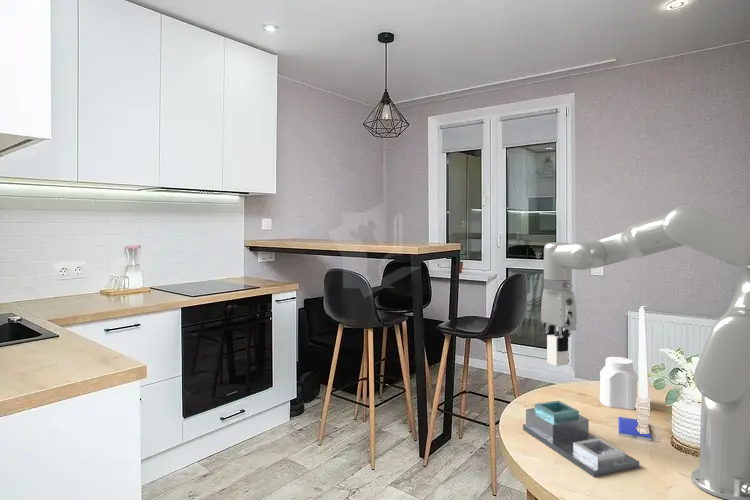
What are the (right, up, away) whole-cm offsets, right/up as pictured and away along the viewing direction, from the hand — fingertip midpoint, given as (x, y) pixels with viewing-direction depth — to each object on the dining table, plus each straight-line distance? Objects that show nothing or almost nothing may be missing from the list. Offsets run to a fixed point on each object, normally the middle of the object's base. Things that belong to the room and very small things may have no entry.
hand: (557, 348), depth 133 cm
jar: (+30, -24, +24) cm, 46 cm away
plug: (0, -4, 0) cm, 4 cm away
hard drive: (+24, -26, +4) cm, 36 cm away
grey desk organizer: (+3, -25, -7) cm, 26 cm away
